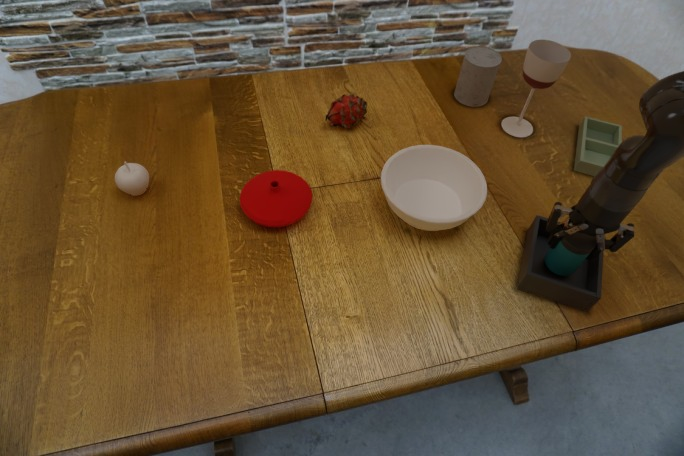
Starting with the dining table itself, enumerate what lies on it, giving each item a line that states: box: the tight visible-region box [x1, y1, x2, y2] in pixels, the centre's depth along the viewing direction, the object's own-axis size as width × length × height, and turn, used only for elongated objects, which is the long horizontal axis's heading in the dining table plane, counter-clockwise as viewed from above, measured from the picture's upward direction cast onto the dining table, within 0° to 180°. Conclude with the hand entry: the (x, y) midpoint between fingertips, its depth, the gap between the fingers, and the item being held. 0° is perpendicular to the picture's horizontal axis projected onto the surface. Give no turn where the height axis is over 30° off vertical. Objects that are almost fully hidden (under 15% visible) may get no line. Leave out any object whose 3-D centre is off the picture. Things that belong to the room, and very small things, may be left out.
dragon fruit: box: [324, 93, 368, 130], centre depth 117 cm, size 8×8×12 cm
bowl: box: [380, 144, 488, 232], centre depth 100 cm, size 22×22×8 cm
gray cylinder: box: [453, 45, 503, 108], centre depth 124 cm, size 10×10×12 cm
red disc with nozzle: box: [239, 169, 313, 228], centre depth 100 cm, size 16×16×7 cm
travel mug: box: [545, 232, 597, 276], centre depth 89 cm, size 6×6×9 cm
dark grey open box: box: [516, 214, 605, 313], centre depth 92 cm, size 14×16×6 cm
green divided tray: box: [573, 115, 623, 177], centre depth 115 cm, size 9×18×4 cm, turn 159°
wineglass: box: [500, 39, 572, 138], centre depth 113 cm, size 9×10×22 cm
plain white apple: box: [114, 161, 150, 197], centre depth 101 cm, size 7×7×8 cm
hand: (569, 250), depth 89 cm, fingers closed on travel mug, 6 cm apart
